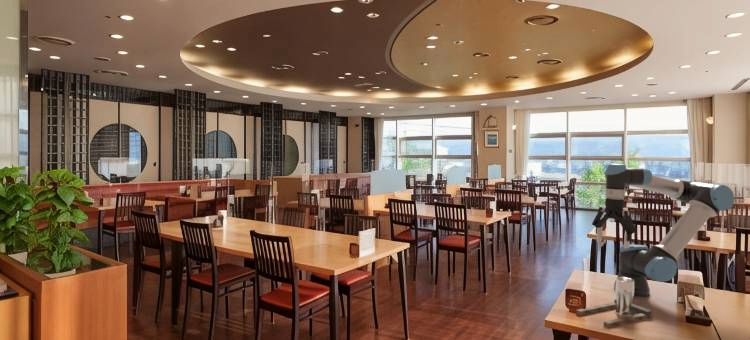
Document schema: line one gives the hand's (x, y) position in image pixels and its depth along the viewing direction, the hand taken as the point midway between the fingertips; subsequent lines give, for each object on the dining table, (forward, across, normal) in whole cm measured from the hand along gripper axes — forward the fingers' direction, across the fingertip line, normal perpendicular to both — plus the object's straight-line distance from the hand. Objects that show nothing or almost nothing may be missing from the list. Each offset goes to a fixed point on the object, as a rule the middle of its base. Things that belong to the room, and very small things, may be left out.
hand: (612, 244), depth 197 cm
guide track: (+27, +12, -13) cm, 32 cm away
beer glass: (+27, +12, -7) cm, 30 cm away
